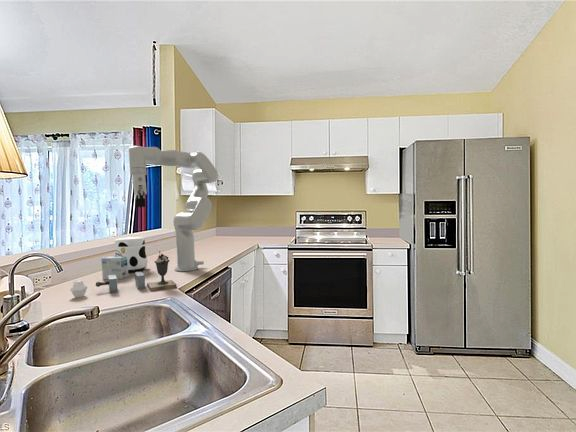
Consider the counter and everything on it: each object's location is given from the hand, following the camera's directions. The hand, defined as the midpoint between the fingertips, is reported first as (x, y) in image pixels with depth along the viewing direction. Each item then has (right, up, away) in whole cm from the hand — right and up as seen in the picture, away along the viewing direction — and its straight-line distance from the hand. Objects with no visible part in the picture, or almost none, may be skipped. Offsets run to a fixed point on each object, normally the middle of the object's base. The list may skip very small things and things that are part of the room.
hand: (140, 206), depth 189 cm
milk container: (-15, -35, +26) cm, 46 cm away
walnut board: (+16, -37, -17) cm, 43 cm away
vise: (-2, -37, -19) cm, 42 cm away
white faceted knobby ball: (-14, -38, -30) cm, 50 cm away
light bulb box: (-16, -36, +8) cm, 40 cm away
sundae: (+16, -35, -16) cm, 42 cm away
